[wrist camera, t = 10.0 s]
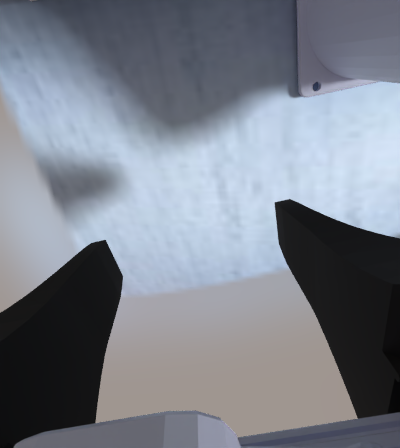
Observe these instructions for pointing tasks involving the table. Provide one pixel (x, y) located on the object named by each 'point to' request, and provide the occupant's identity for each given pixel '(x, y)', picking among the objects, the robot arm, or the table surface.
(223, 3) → the table surface
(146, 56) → the table surface
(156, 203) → the table surface
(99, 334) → the robot arm
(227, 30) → the table surface
